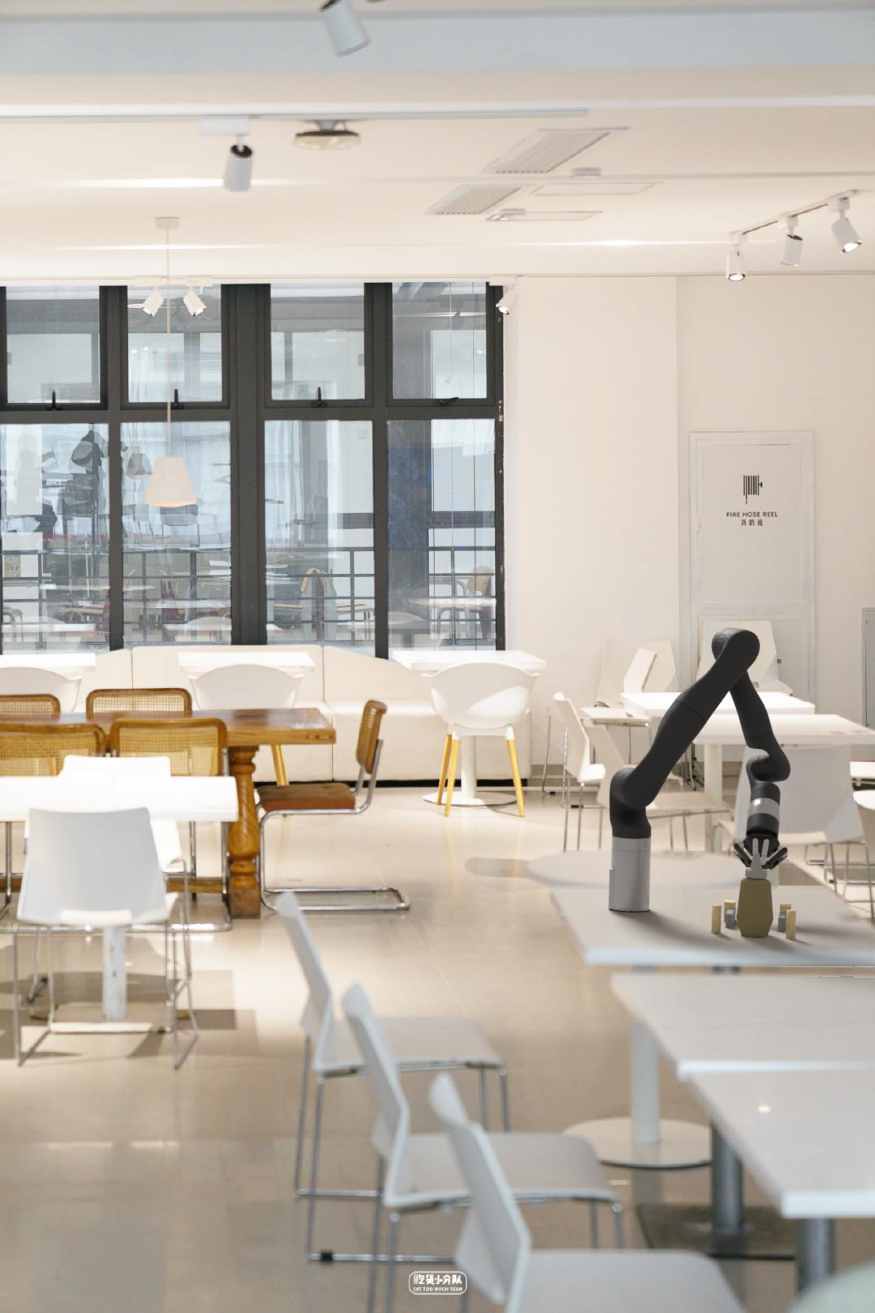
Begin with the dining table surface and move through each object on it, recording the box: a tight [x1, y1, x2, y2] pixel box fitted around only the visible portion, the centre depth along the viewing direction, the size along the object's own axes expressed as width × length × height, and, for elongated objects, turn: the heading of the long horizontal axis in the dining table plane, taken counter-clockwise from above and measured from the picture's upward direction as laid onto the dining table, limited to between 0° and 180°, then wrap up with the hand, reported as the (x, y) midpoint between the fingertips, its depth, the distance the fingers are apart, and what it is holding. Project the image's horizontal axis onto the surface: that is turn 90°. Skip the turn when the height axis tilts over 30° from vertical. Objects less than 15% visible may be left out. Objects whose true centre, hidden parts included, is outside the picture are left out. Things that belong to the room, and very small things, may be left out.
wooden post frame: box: [710, 899, 797, 940], centre depth 342 cm, size 18×18×6 cm
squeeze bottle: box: [735, 853, 774, 938], centre depth 334 cm, size 8×8×18 cm
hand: (757, 881), depth 350 cm, fingers closed
